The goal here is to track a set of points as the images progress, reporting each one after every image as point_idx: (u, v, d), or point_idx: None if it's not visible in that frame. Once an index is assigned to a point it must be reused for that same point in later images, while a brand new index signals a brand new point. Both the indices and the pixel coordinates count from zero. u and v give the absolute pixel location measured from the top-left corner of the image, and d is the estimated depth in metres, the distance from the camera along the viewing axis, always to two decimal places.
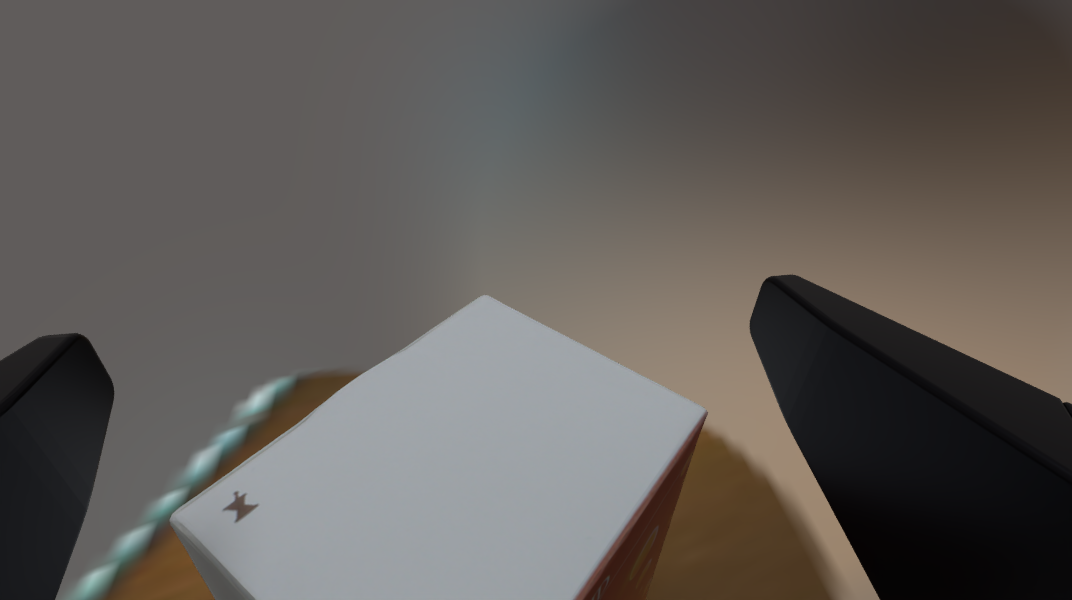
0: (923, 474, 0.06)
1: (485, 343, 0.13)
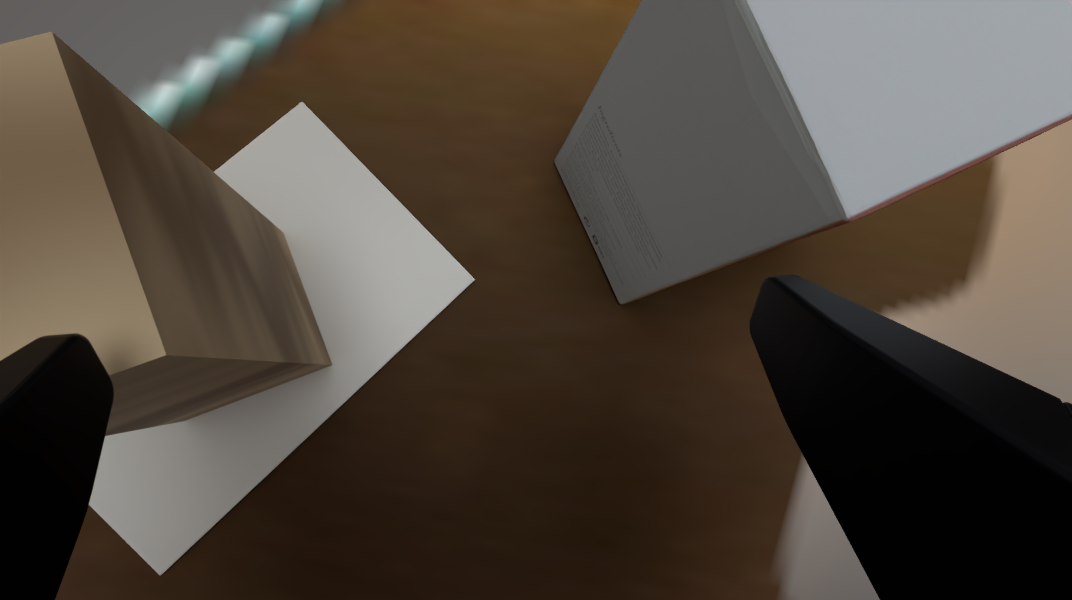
0: (923, 474, 0.06)
1: None
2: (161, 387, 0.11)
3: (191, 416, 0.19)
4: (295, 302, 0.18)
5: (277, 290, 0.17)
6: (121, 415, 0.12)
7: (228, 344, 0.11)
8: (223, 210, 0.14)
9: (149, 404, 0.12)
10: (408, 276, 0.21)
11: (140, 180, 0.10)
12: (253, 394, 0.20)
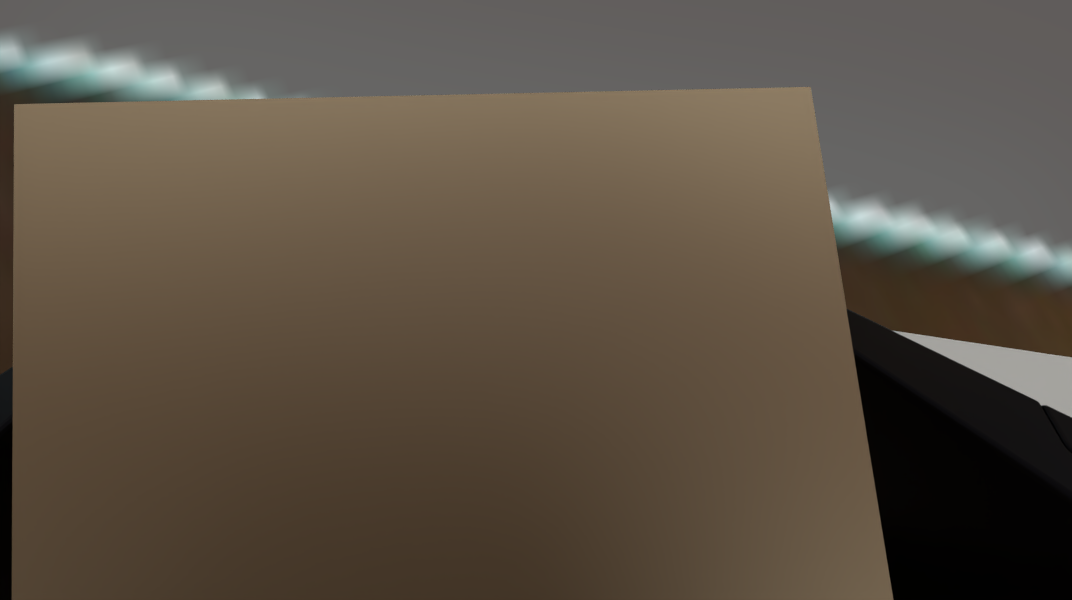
0: (902, 477, 0.06)
1: None
2: None
3: None
4: None
5: None
6: None
7: None
8: None
9: None
10: None
11: None
12: None
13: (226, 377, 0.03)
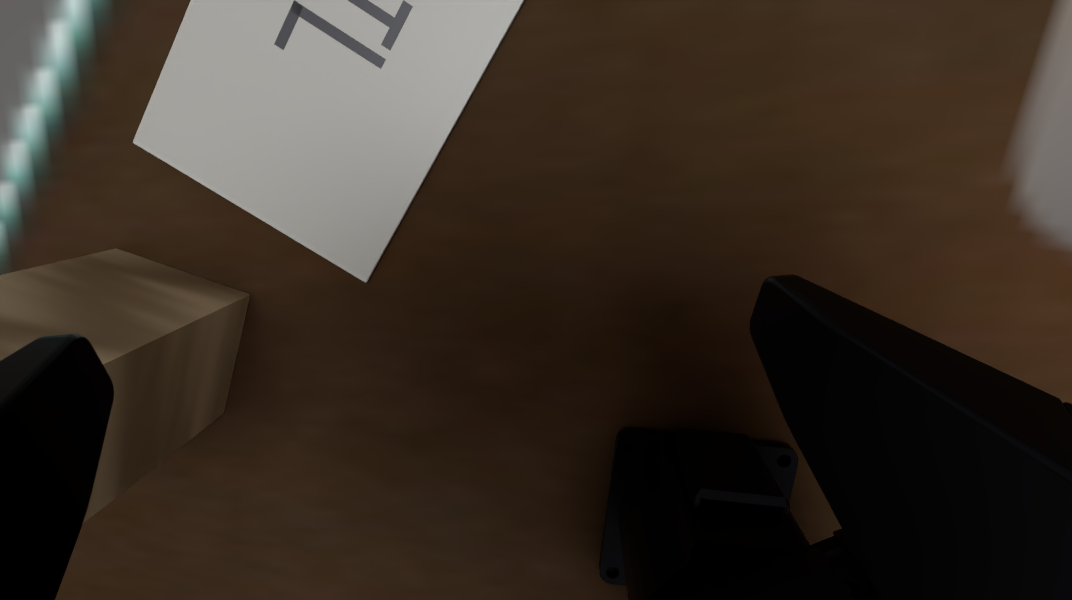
0: (923, 474, 0.06)
1: None
2: None
3: (214, 409, 0.22)
4: (151, 291, 0.19)
5: (103, 305, 0.17)
6: None
7: None
8: None
9: None
10: None
11: None
12: (232, 361, 0.22)
13: None
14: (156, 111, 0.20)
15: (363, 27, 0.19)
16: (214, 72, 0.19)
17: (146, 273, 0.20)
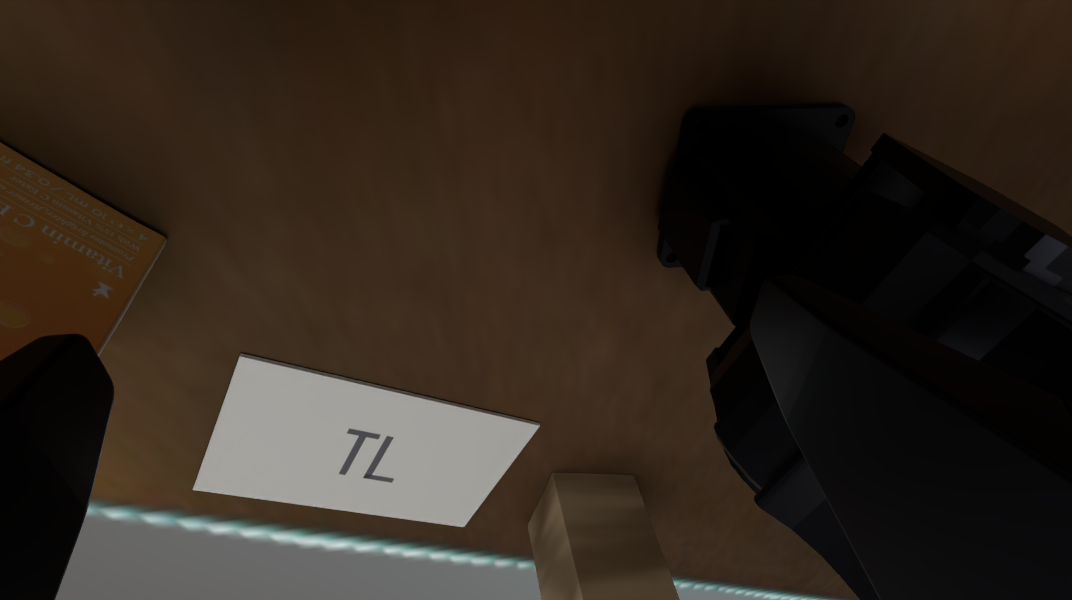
0: (923, 474, 0.06)
1: None
2: None
3: (629, 486, 0.33)
4: (550, 532, 0.32)
5: (556, 566, 0.30)
6: None
7: None
8: None
9: None
10: (271, 394, 0.25)
11: None
12: (597, 476, 0.33)
13: None
14: (443, 520, 0.33)
15: (370, 448, 0.28)
16: (415, 502, 0.31)
17: (540, 523, 0.33)
